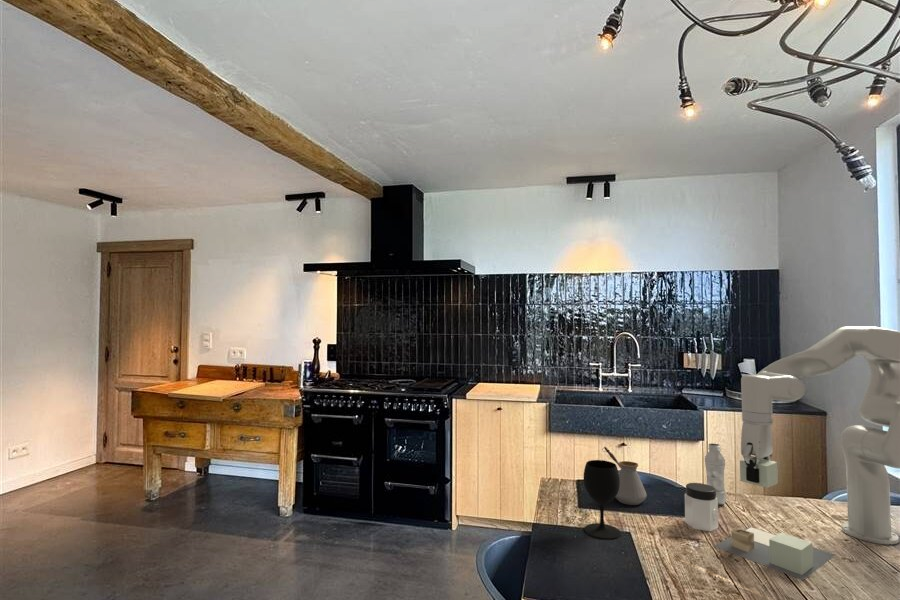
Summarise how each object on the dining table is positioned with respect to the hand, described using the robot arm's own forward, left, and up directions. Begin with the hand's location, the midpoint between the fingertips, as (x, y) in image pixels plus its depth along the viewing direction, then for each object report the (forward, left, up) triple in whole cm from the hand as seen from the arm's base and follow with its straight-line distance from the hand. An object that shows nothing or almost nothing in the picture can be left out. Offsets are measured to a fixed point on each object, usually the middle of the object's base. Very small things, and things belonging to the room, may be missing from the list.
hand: (759, 478), depth 137 cm
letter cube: (+11, 0, -17) cm, 20 cm away
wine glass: (+34, -29, -17) cm, 48 cm away
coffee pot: (+4, -44, -17) cm, 47 cm away
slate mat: (+6, +6, -17) cm, 19 cm away
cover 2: (+11, +12, -17) cm, 23 cm away
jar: (+6, -14, -17) cm, 23 cm away
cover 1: (0, 0, -1) cm, 1 cm away
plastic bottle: (-17, -21, -17) cm, 32 cm away
